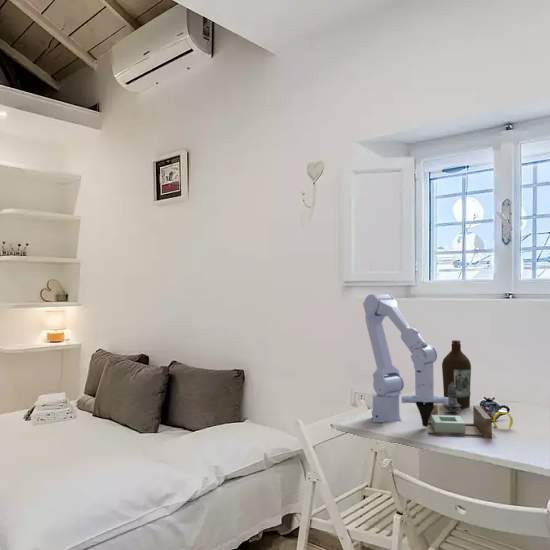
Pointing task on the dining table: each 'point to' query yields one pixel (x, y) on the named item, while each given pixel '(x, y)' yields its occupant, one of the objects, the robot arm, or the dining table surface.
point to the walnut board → (480, 426)
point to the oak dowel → (434, 411)
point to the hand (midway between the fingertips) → (424, 425)
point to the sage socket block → (448, 424)
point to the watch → (502, 413)
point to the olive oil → (457, 374)
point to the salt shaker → (452, 400)
